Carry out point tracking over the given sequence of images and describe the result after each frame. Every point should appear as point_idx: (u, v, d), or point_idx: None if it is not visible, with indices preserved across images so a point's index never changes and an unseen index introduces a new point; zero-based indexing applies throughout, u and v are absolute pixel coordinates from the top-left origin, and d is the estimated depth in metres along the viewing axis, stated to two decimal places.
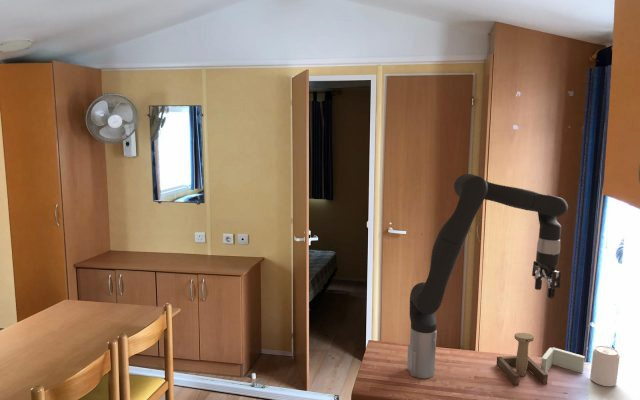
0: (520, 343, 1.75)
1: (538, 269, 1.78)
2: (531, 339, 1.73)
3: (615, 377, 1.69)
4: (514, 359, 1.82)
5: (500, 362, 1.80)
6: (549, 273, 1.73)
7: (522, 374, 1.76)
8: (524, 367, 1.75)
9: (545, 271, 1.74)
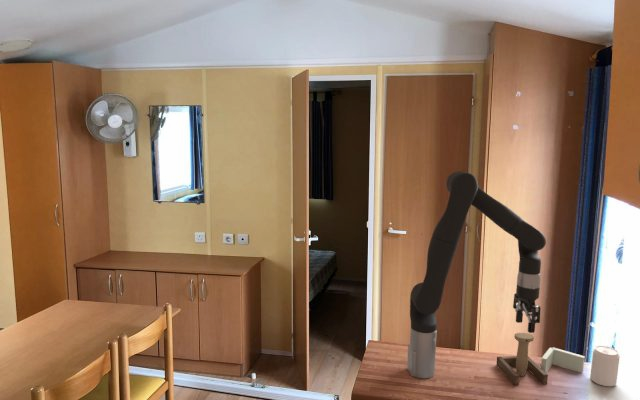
0: (520, 343, 1.75)
1: (518, 302, 1.75)
2: (531, 339, 1.73)
3: (615, 377, 1.69)
4: (514, 359, 1.82)
5: (500, 362, 1.80)
6: (529, 307, 1.69)
7: (522, 374, 1.76)
8: (524, 367, 1.75)
9: (525, 305, 1.71)
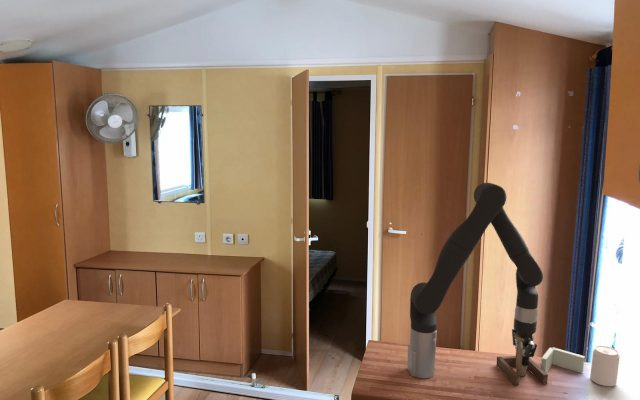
0: (520, 343, 1.75)
1: None
2: None
3: (615, 377, 1.69)
4: (514, 359, 1.82)
5: (500, 362, 1.80)
6: (526, 343, 1.72)
7: (522, 374, 1.76)
8: (524, 367, 1.75)
9: None
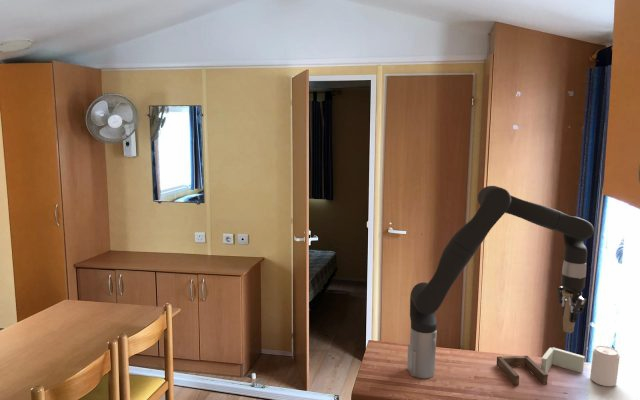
0: (568, 299, 1.72)
1: None
2: None
3: (615, 377, 1.69)
4: (514, 359, 1.82)
5: (500, 362, 1.80)
6: (574, 299, 1.70)
7: (570, 331, 1.74)
8: (572, 324, 1.73)
9: None
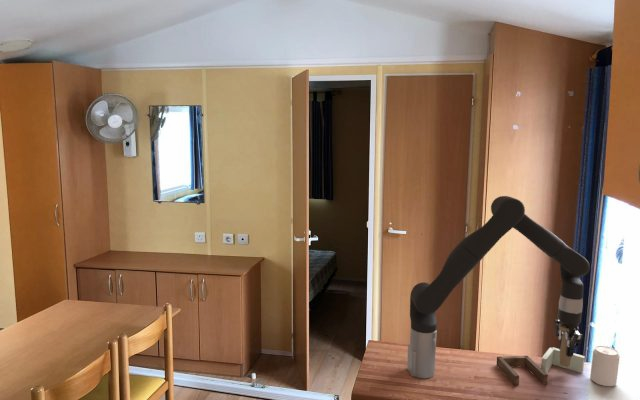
0: None
1: None
2: None
3: (615, 377, 1.69)
4: (514, 359, 1.82)
5: (500, 362, 1.80)
6: (571, 334, 1.72)
7: (566, 365, 1.76)
8: (568, 358, 1.75)
9: None
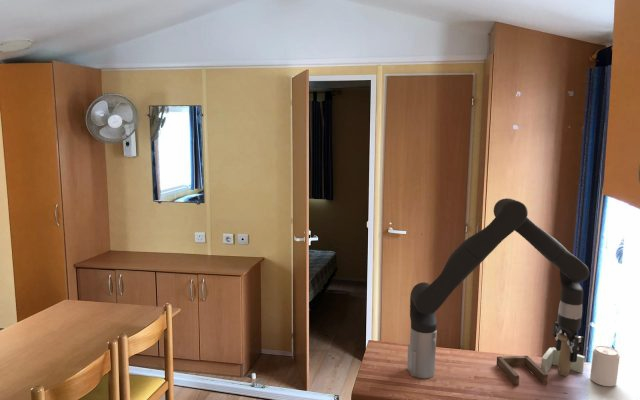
0: (563, 343, 1.75)
1: (559, 331, 1.77)
2: None
3: (615, 377, 1.69)
4: (514, 359, 1.82)
5: (500, 362, 1.80)
6: (571, 337, 1.72)
7: (565, 374, 1.76)
8: (567, 367, 1.76)
9: (567, 335, 1.73)
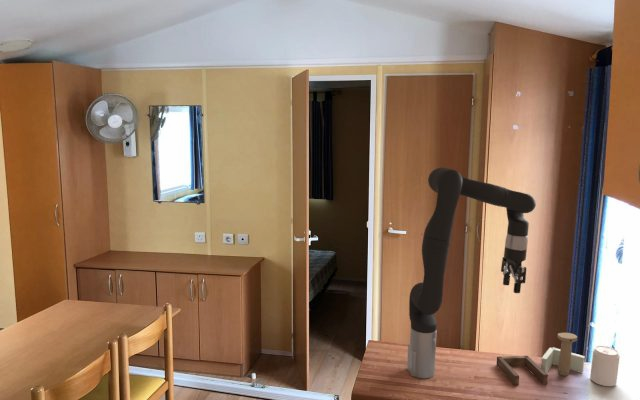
0: (563, 343, 1.75)
1: (506, 265, 1.81)
2: (575, 339, 1.74)
3: (615, 377, 1.69)
4: (514, 359, 1.82)
5: (500, 362, 1.80)
6: (516, 268, 1.76)
7: (565, 374, 1.76)
8: (567, 367, 1.76)
9: (512, 266, 1.77)
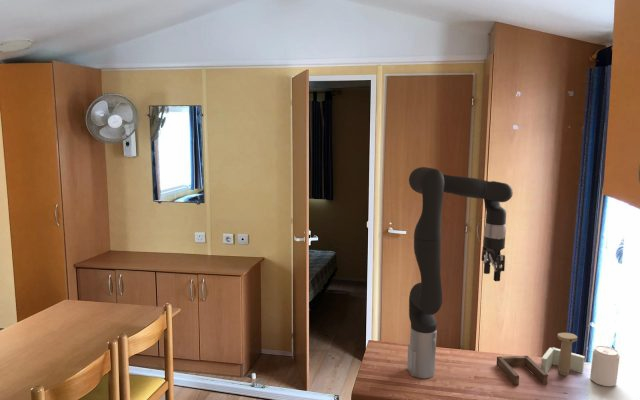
0: (563, 343, 1.75)
1: (486, 253, 1.83)
2: (575, 339, 1.74)
3: (615, 377, 1.69)
4: (514, 359, 1.82)
5: (500, 362, 1.80)
6: (495, 257, 1.78)
7: (565, 374, 1.76)
8: (567, 367, 1.76)
9: (491, 255, 1.80)
